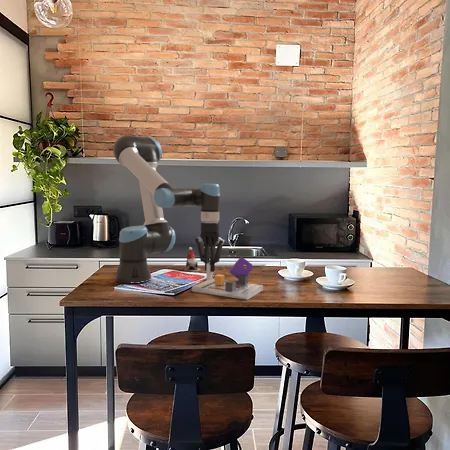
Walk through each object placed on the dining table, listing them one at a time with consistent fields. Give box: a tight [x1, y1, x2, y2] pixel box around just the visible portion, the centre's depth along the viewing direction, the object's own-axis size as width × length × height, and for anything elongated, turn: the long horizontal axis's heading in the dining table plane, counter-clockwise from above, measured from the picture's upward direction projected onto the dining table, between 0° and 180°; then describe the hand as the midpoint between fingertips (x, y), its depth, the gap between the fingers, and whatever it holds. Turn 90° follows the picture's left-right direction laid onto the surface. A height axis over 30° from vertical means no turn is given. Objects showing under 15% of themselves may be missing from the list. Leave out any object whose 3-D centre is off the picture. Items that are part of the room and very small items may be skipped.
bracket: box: [228, 256, 253, 280], centre depth 184 cm, size 12×7×7 cm
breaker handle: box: [214, 273, 226, 285], centre depth 173 cm, size 3×3×4 cm
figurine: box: [184, 246, 202, 272], centre depth 211 cm, size 8×10×12 cm
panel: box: [191, 274, 264, 301], centre depth 172 cm, size 24×16×6 cm, turn 63°
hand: (209, 279), depth 175 cm, fingers closed
